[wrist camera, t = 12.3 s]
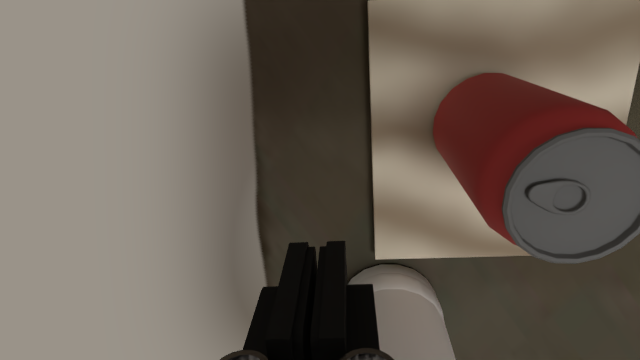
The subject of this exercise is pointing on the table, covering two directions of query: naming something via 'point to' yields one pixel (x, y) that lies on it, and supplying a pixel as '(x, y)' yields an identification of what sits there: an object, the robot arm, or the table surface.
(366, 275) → the bottle
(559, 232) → the beer can
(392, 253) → the birch board
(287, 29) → the table surface
